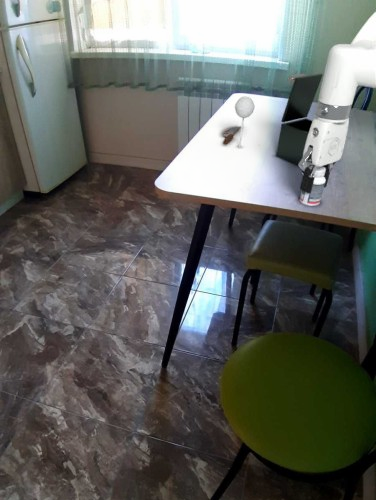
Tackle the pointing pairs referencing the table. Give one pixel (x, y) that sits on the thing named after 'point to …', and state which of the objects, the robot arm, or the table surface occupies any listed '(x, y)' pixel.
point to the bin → (293, 140)
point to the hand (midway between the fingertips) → (313, 187)
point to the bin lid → (301, 96)
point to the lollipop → (244, 110)
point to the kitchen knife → (229, 134)
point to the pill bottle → (314, 188)
